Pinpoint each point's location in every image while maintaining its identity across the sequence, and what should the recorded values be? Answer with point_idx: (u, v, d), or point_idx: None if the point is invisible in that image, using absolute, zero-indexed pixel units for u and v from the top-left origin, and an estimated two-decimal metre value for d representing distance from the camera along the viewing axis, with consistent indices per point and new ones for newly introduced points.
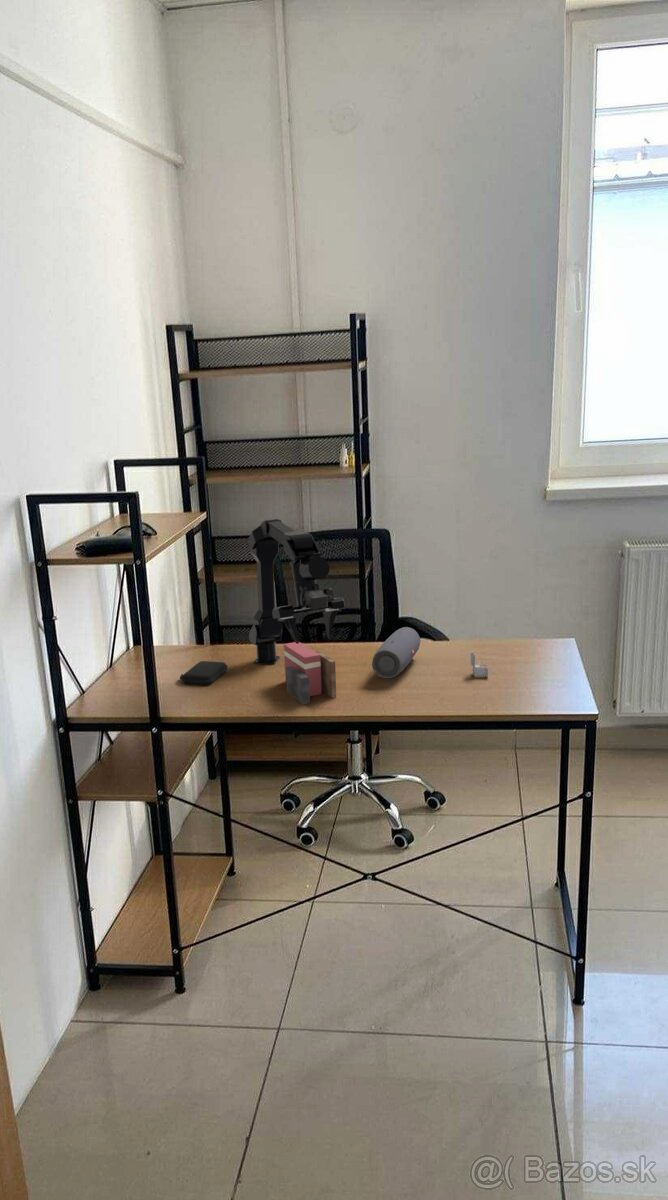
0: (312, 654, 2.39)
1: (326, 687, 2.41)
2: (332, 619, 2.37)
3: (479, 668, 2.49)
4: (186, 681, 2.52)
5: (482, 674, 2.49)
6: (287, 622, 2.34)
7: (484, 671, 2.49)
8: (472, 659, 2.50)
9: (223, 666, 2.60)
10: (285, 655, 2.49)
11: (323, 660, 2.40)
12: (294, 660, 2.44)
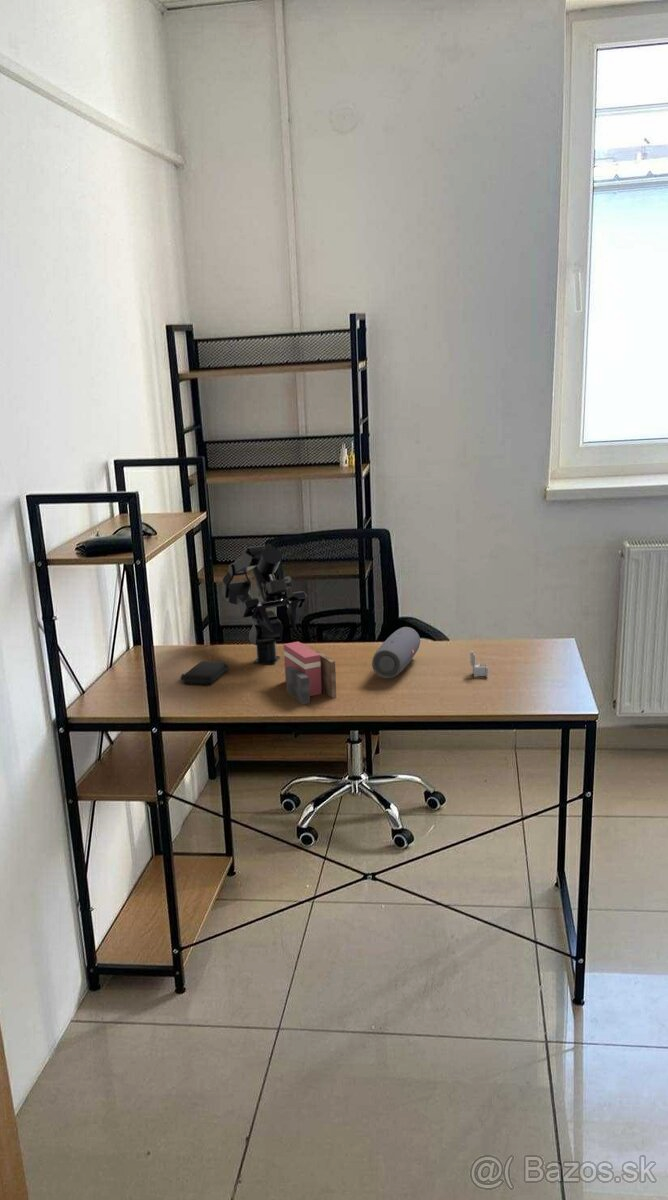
0: (312, 654, 2.39)
1: (326, 687, 2.41)
2: (294, 610, 2.57)
3: (479, 668, 2.49)
4: (187, 681, 2.52)
5: (482, 674, 2.50)
6: (260, 616, 2.55)
7: (484, 671, 2.49)
8: (472, 659, 2.50)
9: (224, 666, 2.60)
10: (285, 655, 2.49)
11: (323, 660, 2.40)
12: (294, 660, 2.44)
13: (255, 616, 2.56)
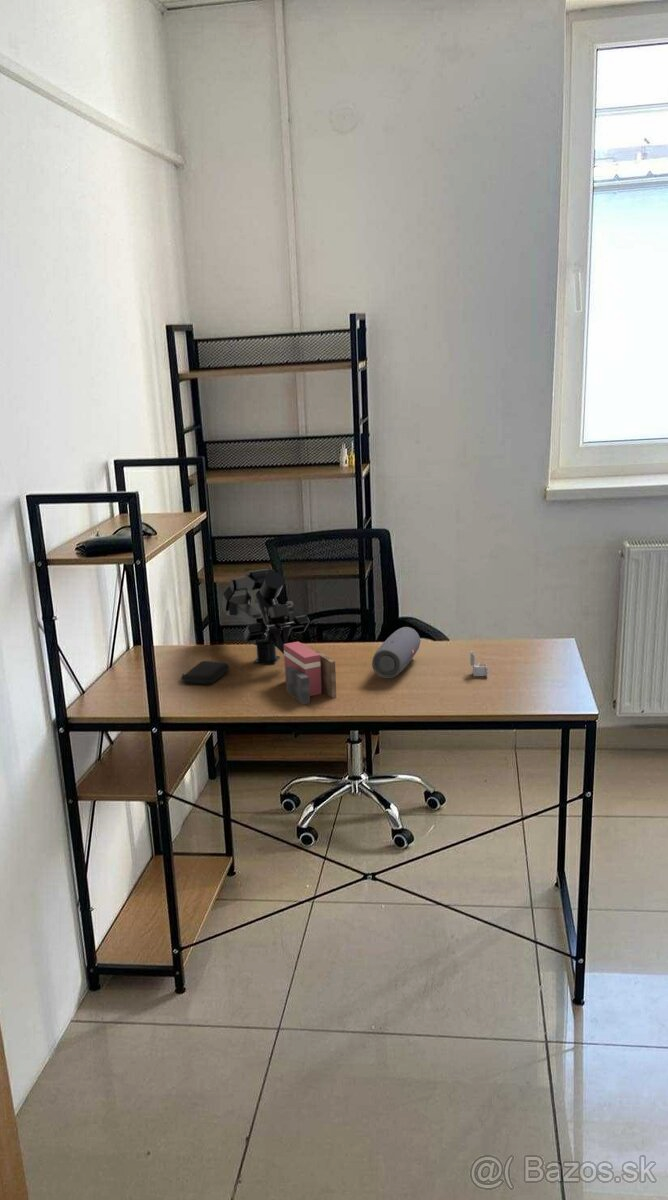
0: (312, 654, 2.39)
1: (326, 687, 2.41)
2: (286, 636, 2.56)
3: (478, 668, 2.49)
4: (187, 681, 2.52)
5: (482, 674, 2.50)
6: (273, 639, 2.58)
7: (483, 671, 2.49)
8: (472, 659, 2.50)
9: (224, 666, 2.60)
10: (285, 655, 2.49)
11: (323, 660, 2.40)
12: (294, 660, 2.44)
13: (268, 638, 2.58)
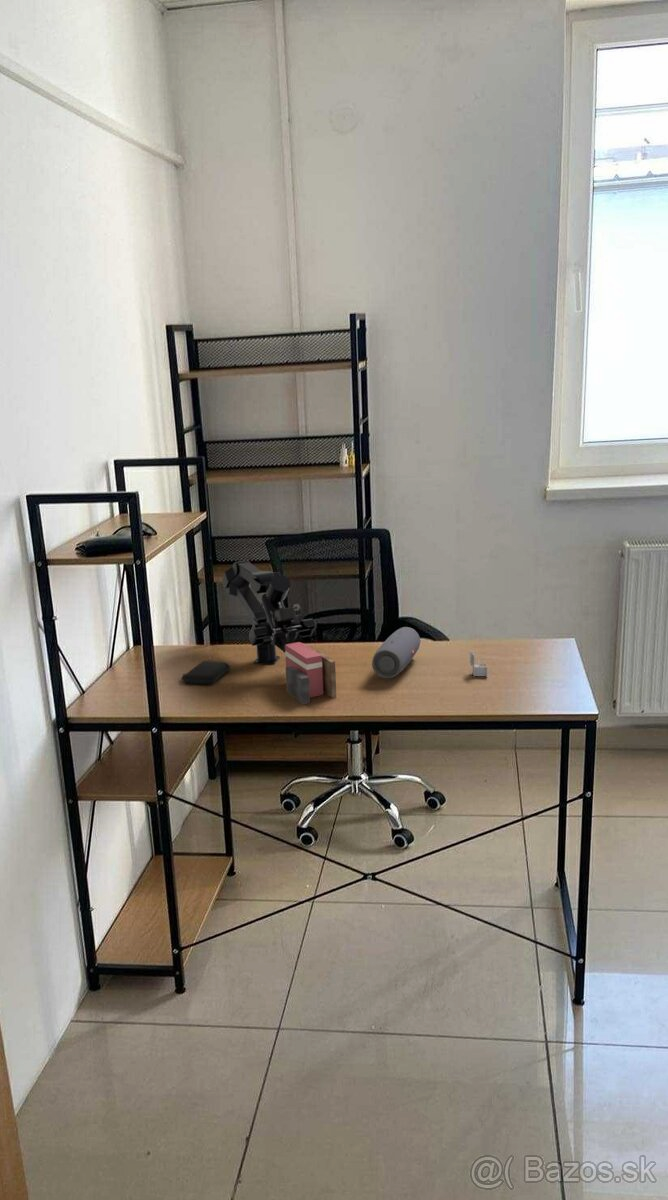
0: (314, 654, 2.39)
1: (326, 687, 2.41)
2: (292, 640, 2.52)
3: (478, 668, 2.49)
4: (188, 681, 2.52)
5: (481, 674, 2.50)
6: (279, 642, 2.53)
7: (483, 671, 2.49)
8: (471, 659, 2.50)
9: (225, 666, 2.60)
10: (286, 656, 2.48)
11: (323, 660, 2.40)
12: (295, 661, 2.43)
13: (275, 642, 2.54)
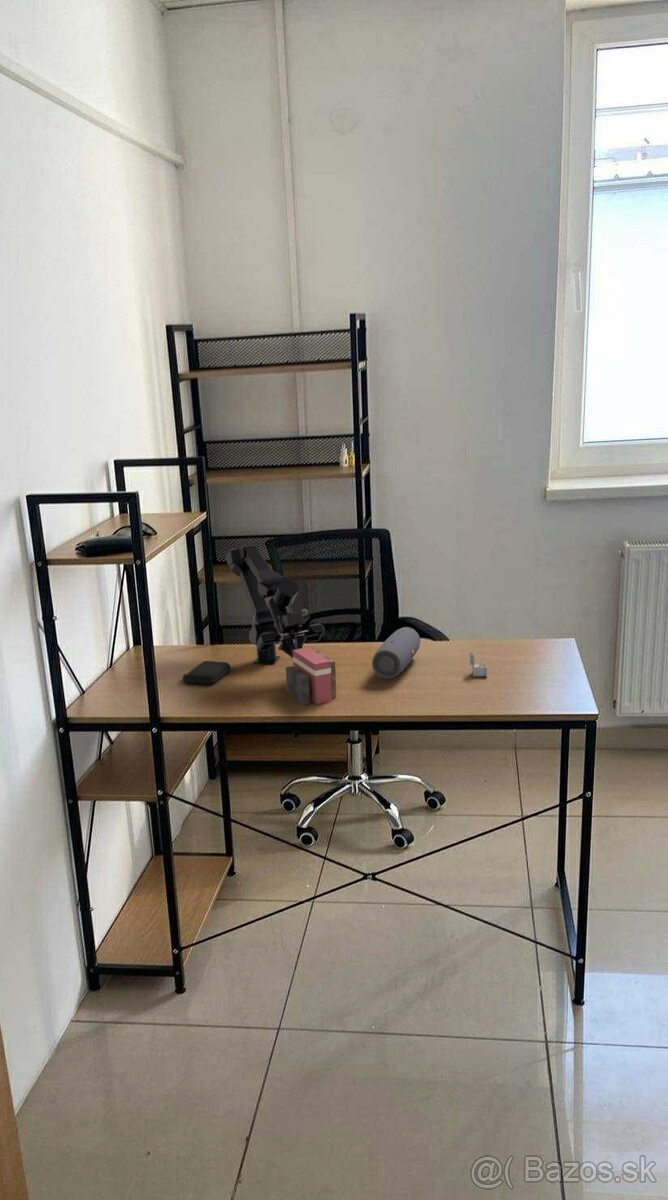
0: (323, 660, 2.34)
1: None
2: (300, 645, 2.47)
3: (478, 668, 2.49)
4: (188, 681, 2.52)
5: (481, 674, 2.50)
6: (287, 648, 2.49)
7: (483, 671, 2.50)
8: (471, 659, 2.50)
9: (226, 666, 2.60)
10: (294, 661, 2.44)
11: None
12: (303, 667, 2.38)
13: (282, 648, 2.49)
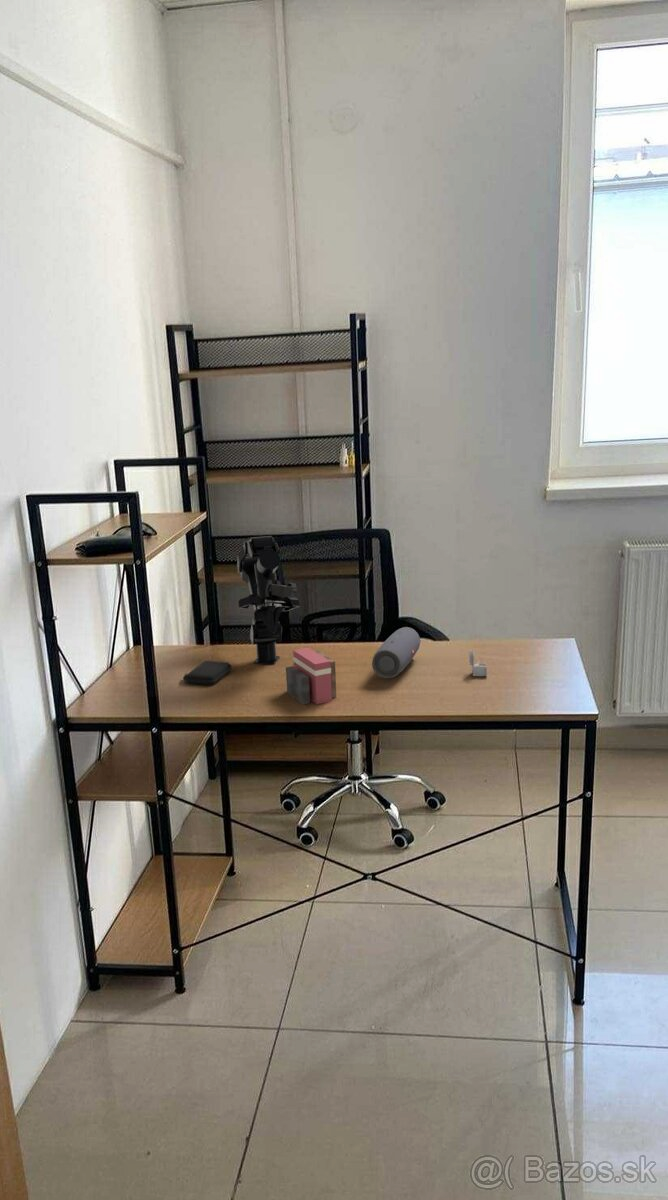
0: (323, 660, 2.34)
1: None
2: (277, 615, 2.54)
3: (478, 667, 2.49)
4: (189, 681, 2.52)
5: (481, 673, 2.50)
6: (263, 613, 2.54)
7: (483, 670, 2.50)
8: (471, 658, 2.51)
9: (227, 666, 2.60)
10: (294, 661, 2.44)
11: None
12: (303, 667, 2.38)
13: (259, 611, 2.53)
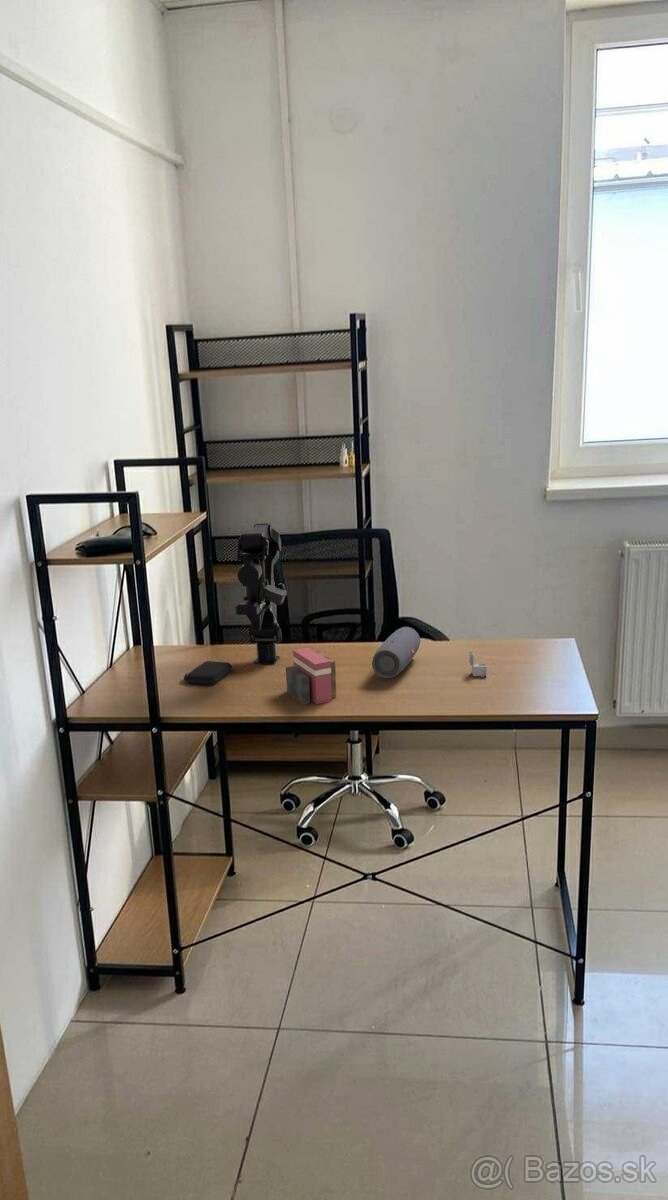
0: (323, 660, 2.34)
1: None
2: (263, 614, 2.54)
3: (478, 667, 2.50)
4: (189, 681, 2.52)
5: (481, 673, 2.50)
6: None
7: (483, 670, 2.50)
8: (471, 658, 2.51)
9: (228, 666, 2.60)
10: (294, 661, 2.44)
11: None
12: (303, 667, 2.38)
13: None
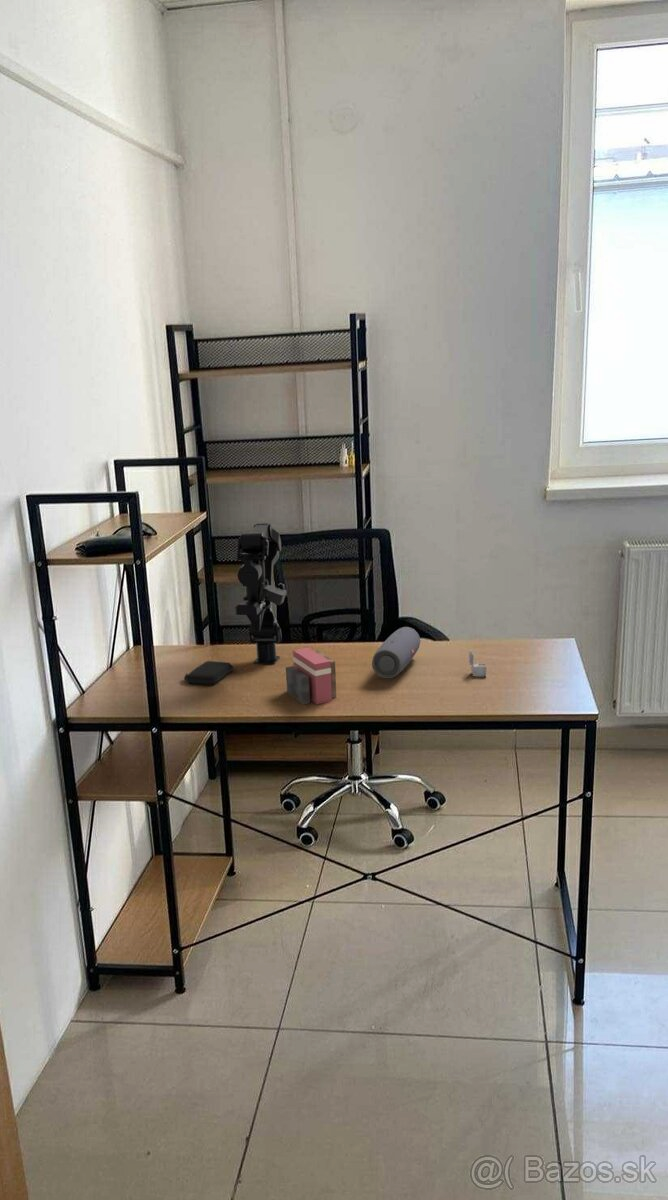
0: (323, 660, 2.34)
1: None
2: (263, 614, 2.54)
3: (477, 667, 2.50)
4: (190, 681, 2.52)
5: (480, 673, 2.50)
6: None
7: (482, 670, 2.50)
8: (471, 658, 2.51)
9: (228, 666, 2.60)
10: (294, 661, 2.44)
11: None
12: (303, 667, 2.38)
13: None
